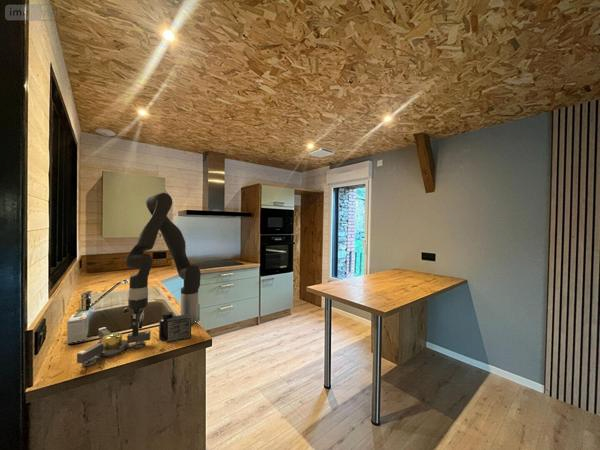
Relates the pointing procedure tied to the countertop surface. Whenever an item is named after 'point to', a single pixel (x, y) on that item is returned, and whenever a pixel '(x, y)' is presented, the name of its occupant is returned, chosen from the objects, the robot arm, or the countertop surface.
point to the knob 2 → (139, 337)
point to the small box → (179, 328)
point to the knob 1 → (89, 353)
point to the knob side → (103, 332)
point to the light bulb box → (77, 327)
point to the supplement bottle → (164, 325)
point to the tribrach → (112, 348)
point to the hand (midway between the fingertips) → (137, 332)
